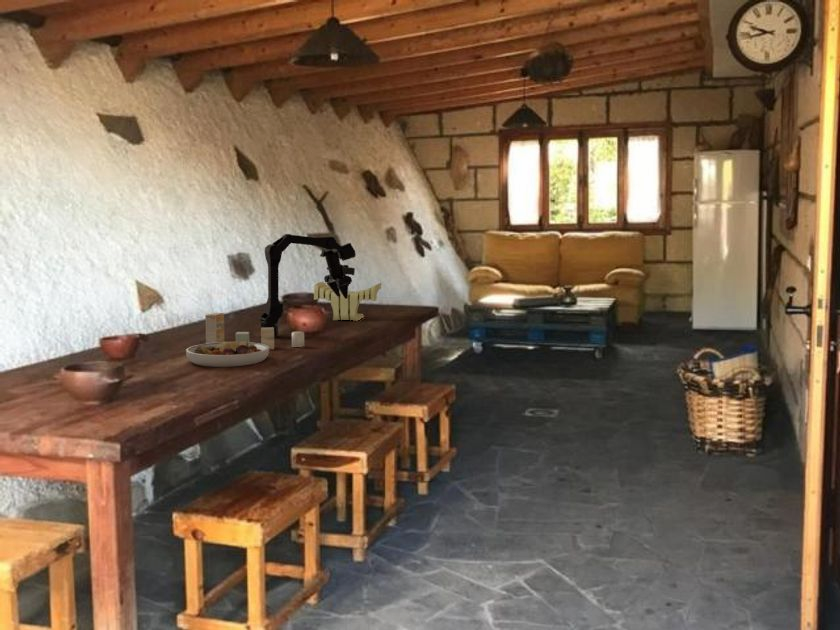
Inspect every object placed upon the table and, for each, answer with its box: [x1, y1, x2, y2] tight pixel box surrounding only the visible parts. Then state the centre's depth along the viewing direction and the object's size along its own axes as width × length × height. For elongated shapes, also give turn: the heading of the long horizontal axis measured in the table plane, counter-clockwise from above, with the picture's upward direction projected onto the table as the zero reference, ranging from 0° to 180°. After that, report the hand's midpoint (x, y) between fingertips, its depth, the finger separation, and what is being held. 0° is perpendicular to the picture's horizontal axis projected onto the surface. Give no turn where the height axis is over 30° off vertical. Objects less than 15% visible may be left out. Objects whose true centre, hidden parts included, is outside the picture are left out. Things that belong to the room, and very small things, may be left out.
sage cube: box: [234, 331, 250, 342], centre depth 372 cm, size 5×5×5 cm
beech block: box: [260, 327, 275, 350], centre depth 363 cm, size 5×5×8 cm
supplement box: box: [204, 312, 225, 344], centre depth 369 cm, size 8×5×13 cm, turn 168°
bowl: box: [185, 340, 270, 368], centre depth 336 cm, size 30×30×8 cm
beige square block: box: [291, 330, 305, 348], centre depth 366 cm, size 5×5×6 cm
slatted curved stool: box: [313, 281, 382, 322], centre depth 447 cm, size 30×16×18 cm, turn 81°
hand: (342, 297), depth 405 cm, fingers open, 9 cm apart
